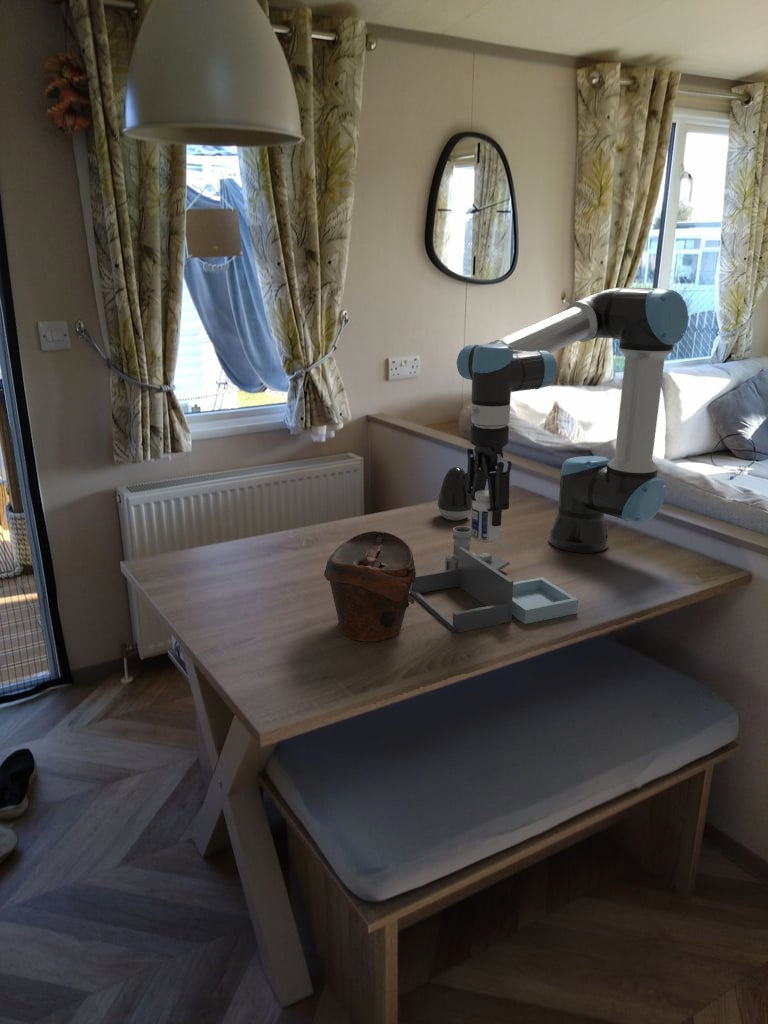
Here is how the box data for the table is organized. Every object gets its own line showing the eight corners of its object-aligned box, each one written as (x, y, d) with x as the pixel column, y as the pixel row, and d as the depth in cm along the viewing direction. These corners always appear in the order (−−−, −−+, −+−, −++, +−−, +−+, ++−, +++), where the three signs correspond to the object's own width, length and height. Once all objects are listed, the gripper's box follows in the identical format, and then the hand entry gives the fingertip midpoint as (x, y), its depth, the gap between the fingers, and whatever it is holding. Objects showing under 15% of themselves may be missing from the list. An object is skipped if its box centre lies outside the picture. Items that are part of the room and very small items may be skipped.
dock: (409, 592, 167) (410, 555, 164) (461, 583, 172) (462, 546, 169) (454, 633, 148) (456, 591, 145) (510, 621, 153) (513, 581, 150)
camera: (439, 526, 174) (488, 516, 182) (437, 573, 177) (485, 561, 185) (463, 537, 167) (513, 526, 175) (461, 585, 171) (509, 572, 179)
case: (346, 659, 138) (346, 568, 133) (312, 615, 155) (311, 534, 150) (432, 642, 145) (436, 556, 139) (390, 603, 162) (392, 524, 157)
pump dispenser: (462, 526, 210) (465, 473, 205) (430, 519, 215) (432, 468, 211) (479, 516, 218) (481, 465, 213) (447, 510, 223) (449, 460, 219)
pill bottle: (502, 536, 157) (504, 490, 154) (493, 545, 152) (496, 498, 149) (476, 532, 159) (477, 487, 156) (467, 540, 154) (468, 494, 151)
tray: (491, 599, 164) (492, 586, 163) (541, 589, 168) (542, 577, 167) (524, 624, 152) (525, 610, 151) (577, 613, 157) (578, 599, 156)
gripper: (451, 417, 155) (448, 523, 162) (497, 435, 138) (492, 552, 146) (482, 414, 157) (479, 518, 165) (532, 432, 141) (525, 547, 148)
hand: (485, 534), depth 155 cm, fingers closed on pill bottle, 6 cm apart
